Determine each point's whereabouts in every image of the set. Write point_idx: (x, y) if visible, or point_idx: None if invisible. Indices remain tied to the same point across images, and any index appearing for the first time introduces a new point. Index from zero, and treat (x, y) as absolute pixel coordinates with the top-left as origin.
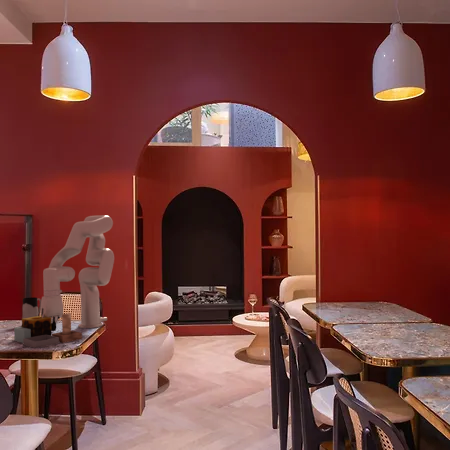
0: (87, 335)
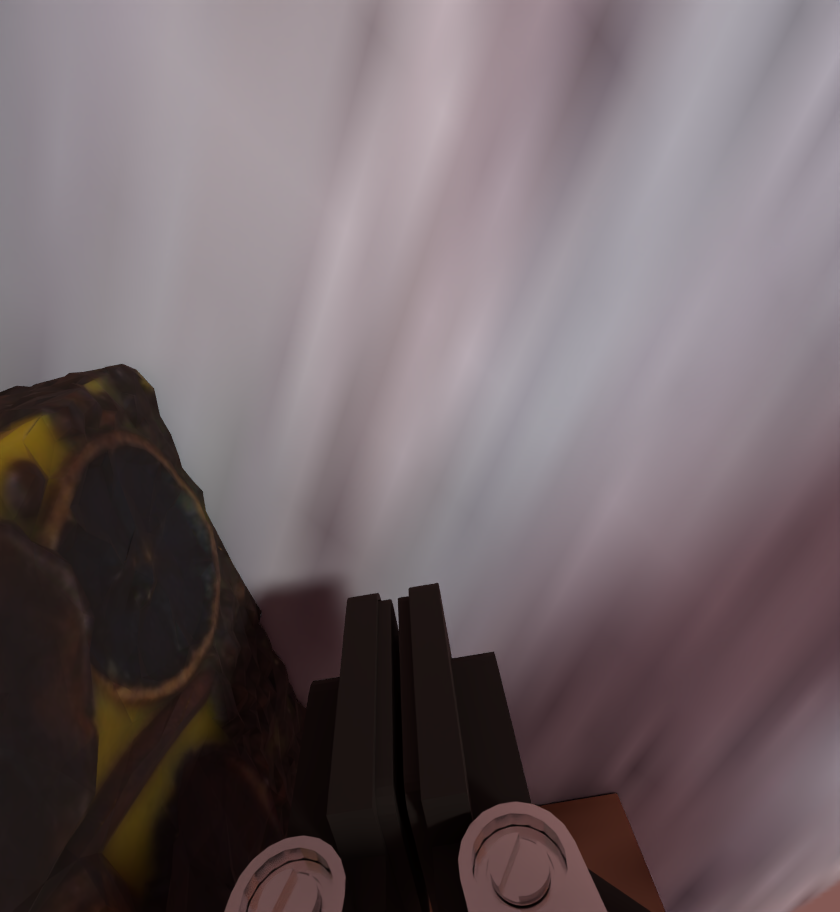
0: (824, 850)
